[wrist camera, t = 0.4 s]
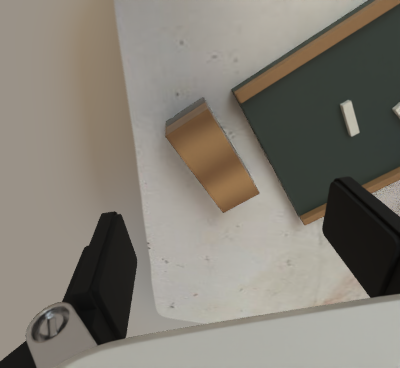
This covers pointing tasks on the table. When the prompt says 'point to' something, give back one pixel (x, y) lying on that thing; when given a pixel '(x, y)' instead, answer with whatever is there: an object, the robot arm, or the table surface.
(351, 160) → the slate board
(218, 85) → the table surface
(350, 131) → the chalk stroke
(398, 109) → the chalk stroke
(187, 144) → the eraser
